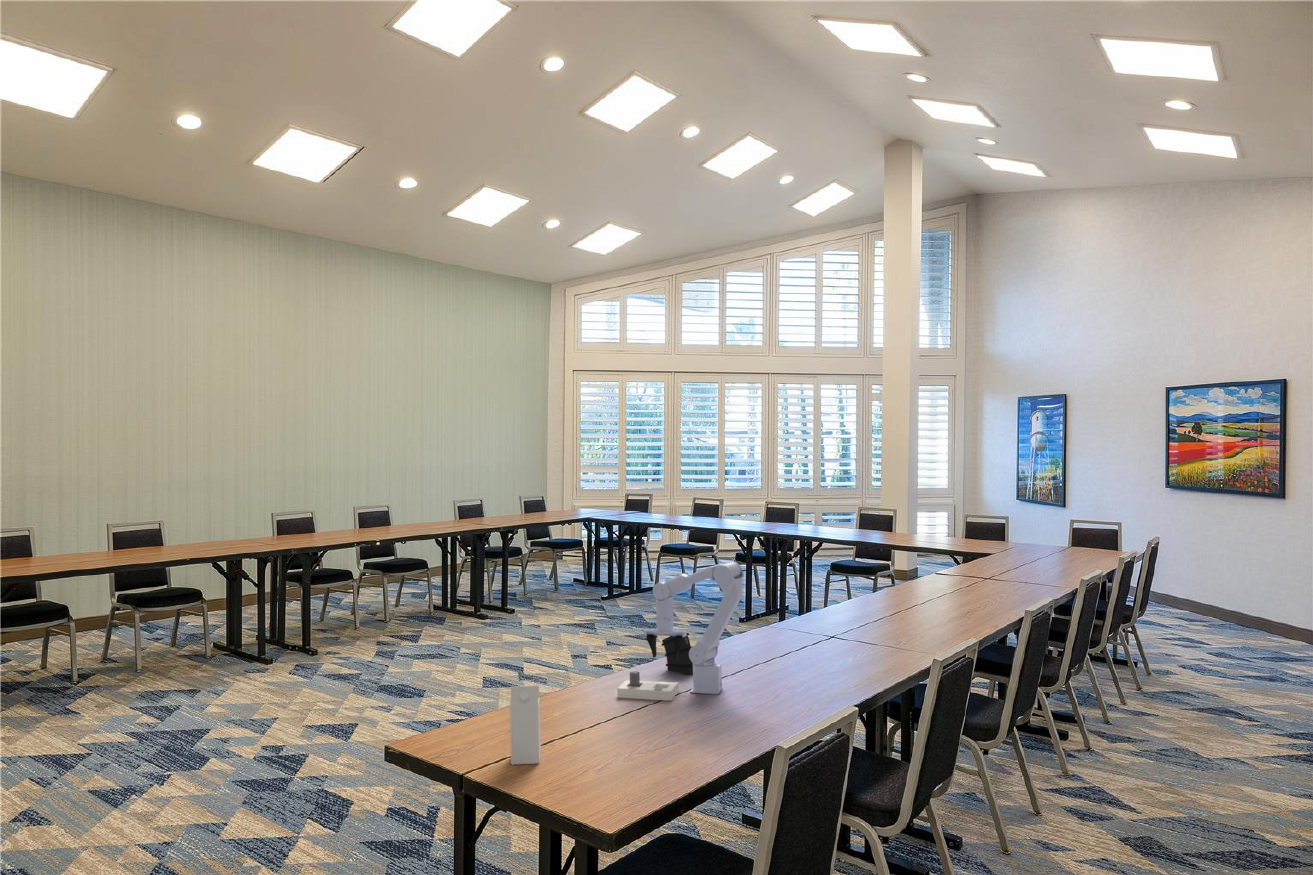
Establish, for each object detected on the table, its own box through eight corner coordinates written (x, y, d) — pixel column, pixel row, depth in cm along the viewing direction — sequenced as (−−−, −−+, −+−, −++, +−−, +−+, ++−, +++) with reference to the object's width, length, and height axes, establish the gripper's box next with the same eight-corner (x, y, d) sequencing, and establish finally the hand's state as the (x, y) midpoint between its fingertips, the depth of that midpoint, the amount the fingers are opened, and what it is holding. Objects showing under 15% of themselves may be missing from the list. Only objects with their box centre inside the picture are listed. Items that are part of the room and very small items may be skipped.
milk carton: (513, 755, 220) (512, 683, 221) (540, 753, 221) (539, 681, 221) (511, 765, 213) (509, 690, 214) (539, 763, 214) (537, 689, 214)
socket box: (678, 691, 276) (678, 681, 276) (671, 700, 266) (671, 690, 266) (626, 688, 280) (626, 678, 280) (617, 697, 271) (617, 687, 271)
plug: (640, 692, 275) (640, 671, 276) (638, 695, 272) (638, 674, 272) (631, 692, 276) (631, 671, 276) (629, 695, 273) (628, 673, 273)
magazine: (694, 672, 293) (680, 631, 298) (670, 682, 302) (657, 642, 307) (701, 670, 296) (687, 629, 301) (677, 680, 304) (664, 640, 309)
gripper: (641, 618, 282) (641, 659, 282) (682, 620, 279) (683, 660, 278) (646, 614, 289) (647, 654, 289) (687, 615, 286) (688, 655, 285)
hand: (665, 657), depth 284 cm, fingers open, 7 cm apart
